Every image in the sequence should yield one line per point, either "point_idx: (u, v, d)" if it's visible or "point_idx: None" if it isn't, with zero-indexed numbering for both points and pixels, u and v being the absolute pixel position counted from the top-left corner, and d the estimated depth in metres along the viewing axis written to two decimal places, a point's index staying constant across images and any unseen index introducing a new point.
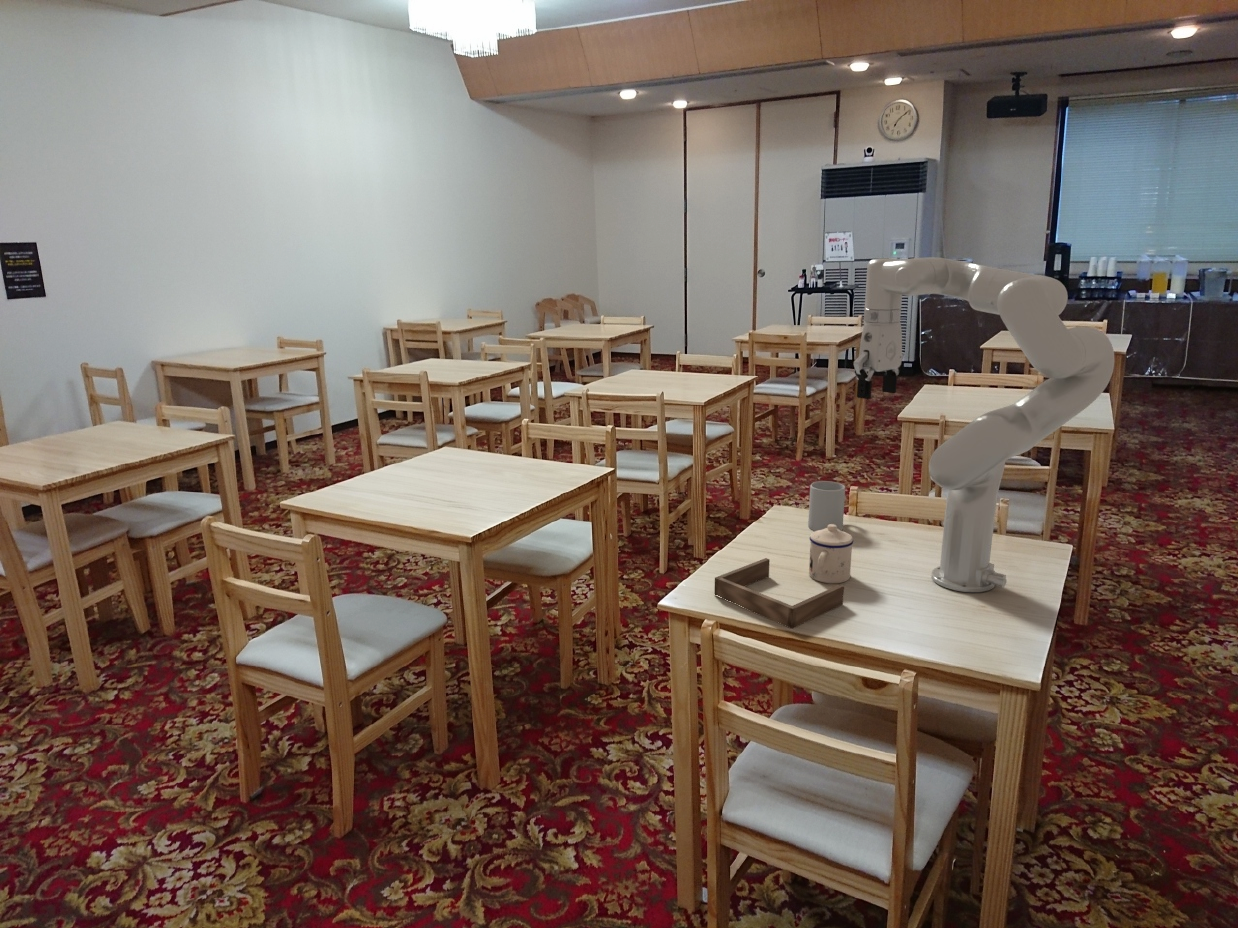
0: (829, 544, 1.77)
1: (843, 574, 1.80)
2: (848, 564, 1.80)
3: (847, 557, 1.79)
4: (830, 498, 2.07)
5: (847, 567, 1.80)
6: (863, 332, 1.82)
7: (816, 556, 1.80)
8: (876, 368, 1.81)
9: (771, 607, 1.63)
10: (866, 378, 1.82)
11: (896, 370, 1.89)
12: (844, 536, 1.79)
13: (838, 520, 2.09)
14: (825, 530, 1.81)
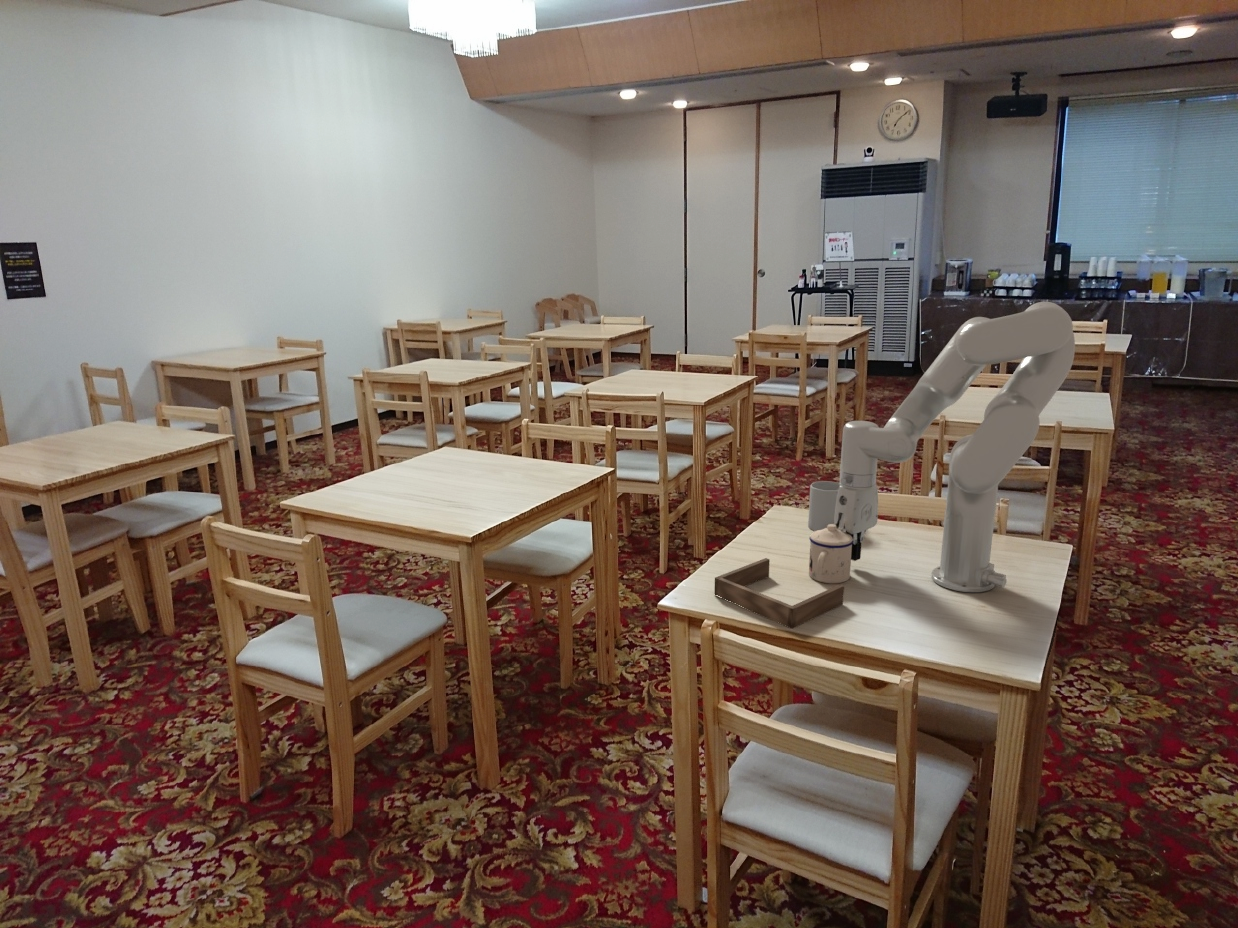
0: (829, 544, 1.77)
1: (843, 574, 1.80)
2: (848, 564, 1.80)
3: (847, 557, 1.79)
4: (830, 498, 2.07)
5: (847, 567, 1.80)
6: (838, 494, 1.82)
7: (815, 556, 1.80)
8: (851, 532, 1.81)
9: (771, 607, 1.63)
10: (853, 543, 1.85)
11: (860, 537, 1.86)
12: (844, 536, 1.79)
13: None
14: (824, 530, 1.81)
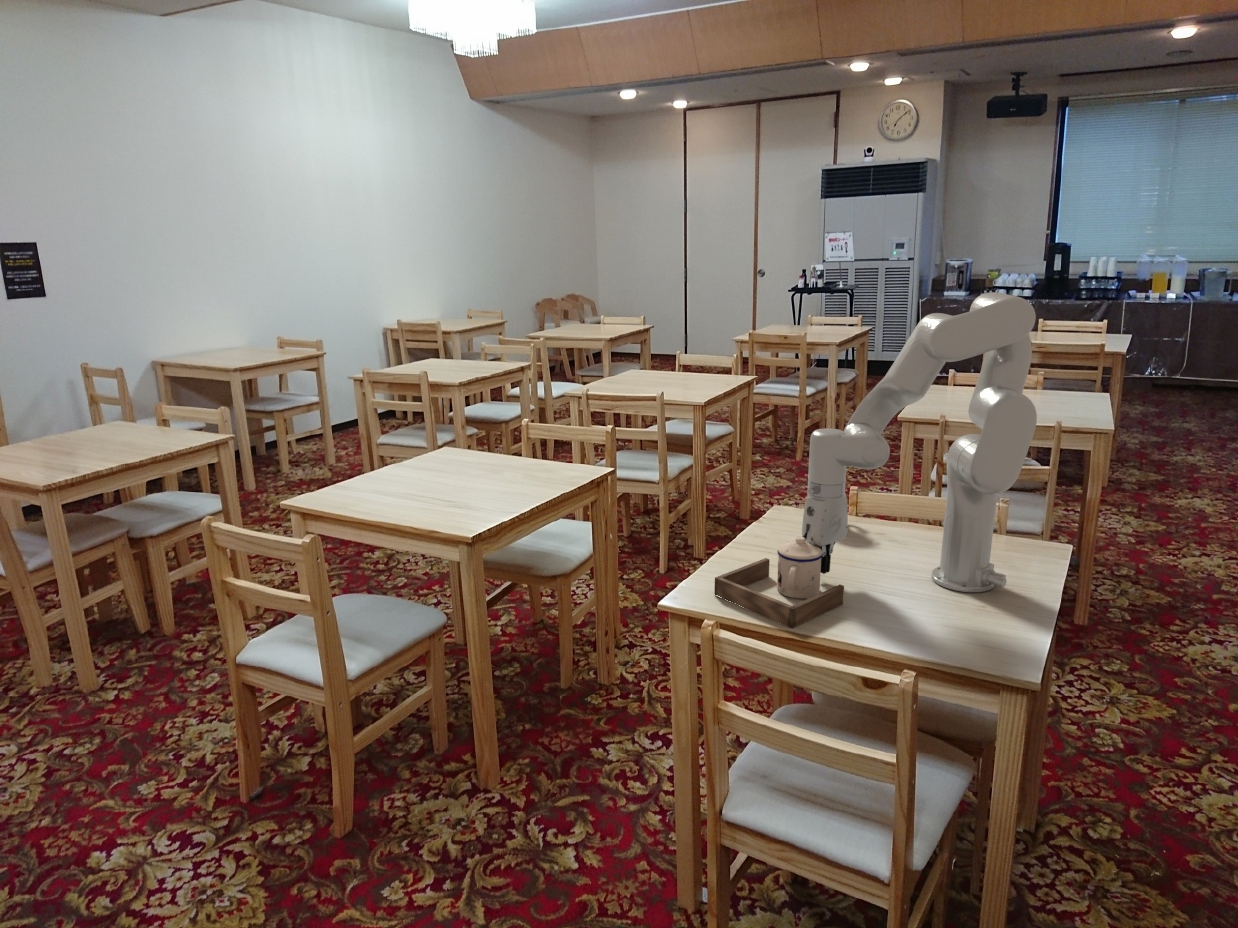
0: (799, 558, 1.70)
1: (814, 589, 1.73)
2: (818, 578, 1.73)
3: (817, 571, 1.72)
4: None
5: (818, 581, 1.73)
6: (806, 505, 1.75)
7: (785, 571, 1.72)
8: (819, 544, 1.74)
9: (771, 607, 1.63)
10: None
11: (829, 549, 1.79)
12: (813, 549, 1.72)
13: None
14: (793, 543, 1.73)
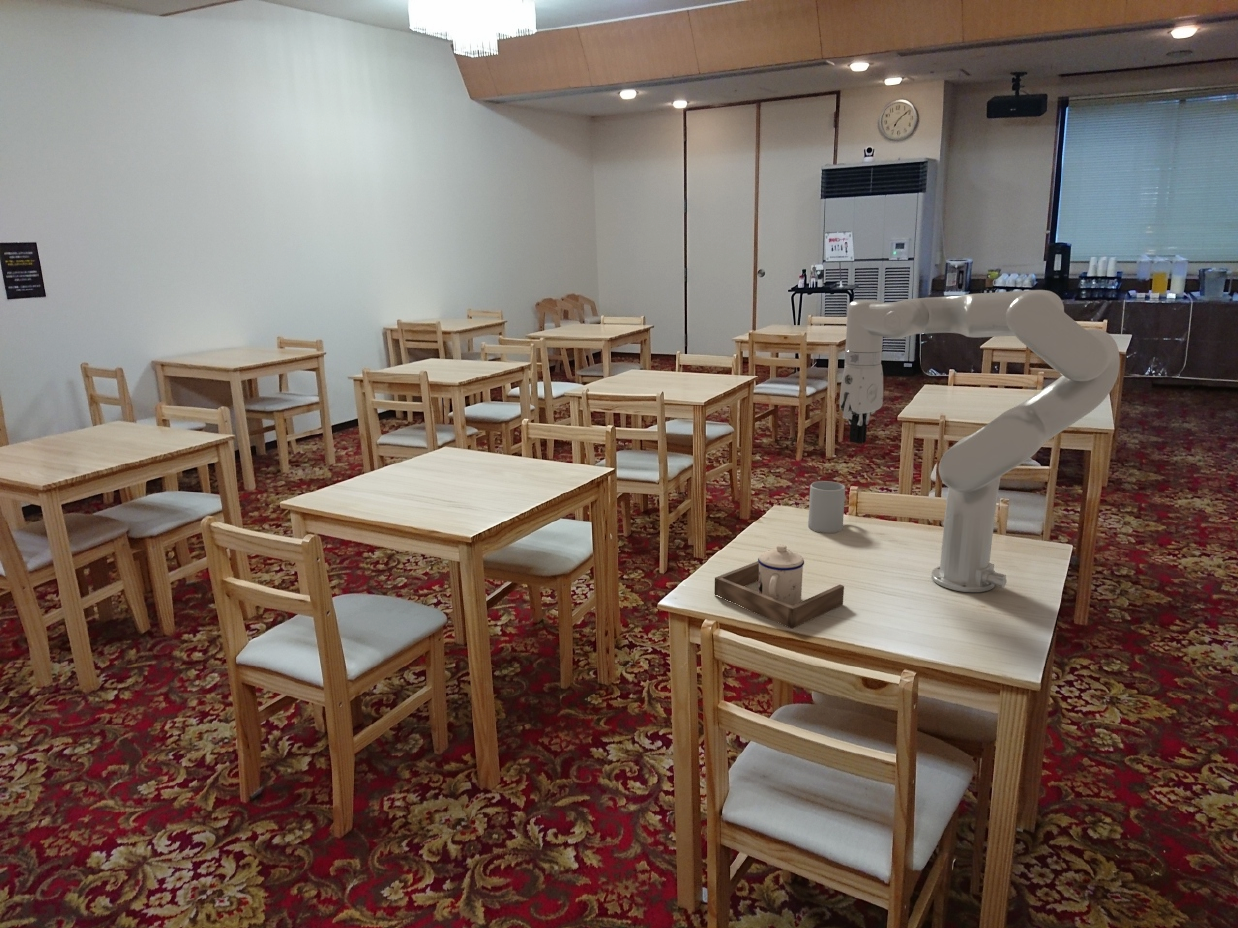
0: (780, 566, 1.66)
1: (795, 597, 1.69)
2: (799, 586, 1.69)
3: (799, 579, 1.68)
4: (830, 498, 2.07)
5: (799, 590, 1.69)
6: (844, 374, 1.81)
7: (766, 580, 1.68)
8: (857, 411, 1.80)
9: (771, 607, 1.63)
10: (859, 425, 1.84)
11: (866, 419, 1.85)
12: (795, 557, 1.68)
13: (838, 520, 2.09)
14: (774, 551, 1.69)
